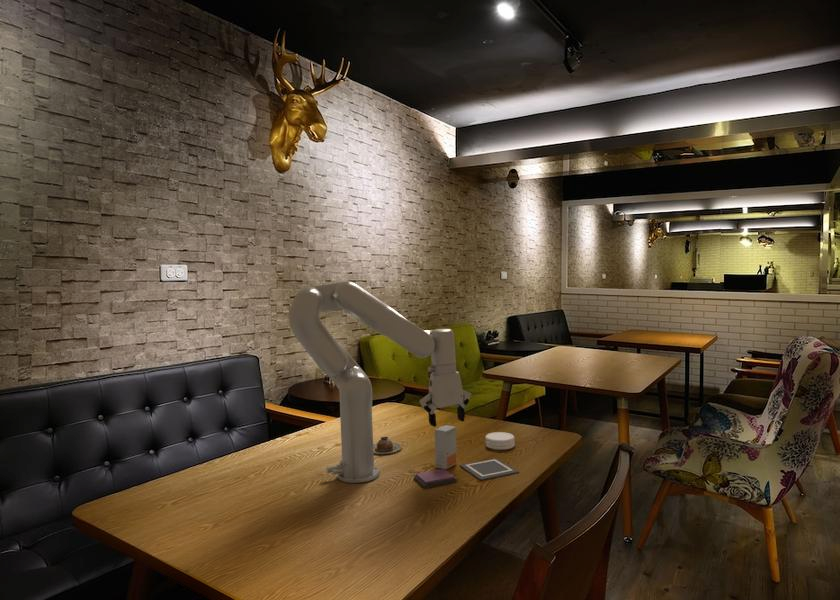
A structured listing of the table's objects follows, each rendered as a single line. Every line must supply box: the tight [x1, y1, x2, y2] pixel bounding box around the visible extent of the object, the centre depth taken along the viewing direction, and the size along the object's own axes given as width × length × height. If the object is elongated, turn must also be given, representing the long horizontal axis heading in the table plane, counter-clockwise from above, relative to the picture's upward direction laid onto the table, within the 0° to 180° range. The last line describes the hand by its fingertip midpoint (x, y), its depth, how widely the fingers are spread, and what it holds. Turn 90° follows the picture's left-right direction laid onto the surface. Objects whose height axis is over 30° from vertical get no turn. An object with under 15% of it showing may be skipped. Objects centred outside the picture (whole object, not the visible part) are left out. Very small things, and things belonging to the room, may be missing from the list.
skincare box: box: [434, 424, 457, 470], centre depth 166 cm, size 6×4×12 cm
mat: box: [459, 458, 520, 482], centre depth 162 cm, size 13×13×1 cm
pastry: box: [373, 436, 403, 456], centre depth 184 cm, size 12×12×5 cm
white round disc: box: [485, 431, 516, 451], centre depth 184 cm, size 10×10×4 cm
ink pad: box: [413, 468, 458, 489], centre depth 155 cm, size 10×8×2 cm
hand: (447, 423), depth 166 cm, fingers open, 9 cm apart
